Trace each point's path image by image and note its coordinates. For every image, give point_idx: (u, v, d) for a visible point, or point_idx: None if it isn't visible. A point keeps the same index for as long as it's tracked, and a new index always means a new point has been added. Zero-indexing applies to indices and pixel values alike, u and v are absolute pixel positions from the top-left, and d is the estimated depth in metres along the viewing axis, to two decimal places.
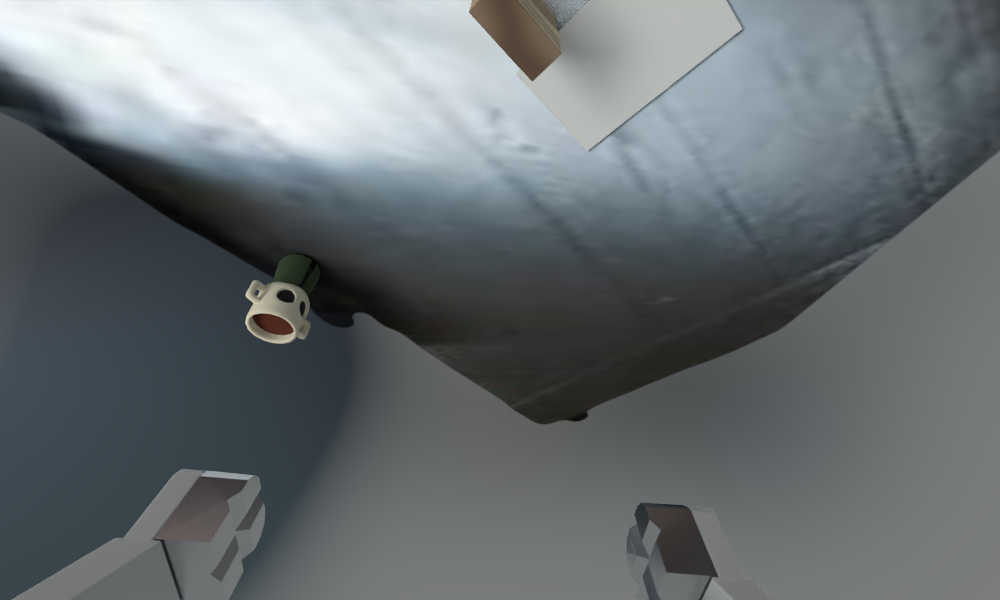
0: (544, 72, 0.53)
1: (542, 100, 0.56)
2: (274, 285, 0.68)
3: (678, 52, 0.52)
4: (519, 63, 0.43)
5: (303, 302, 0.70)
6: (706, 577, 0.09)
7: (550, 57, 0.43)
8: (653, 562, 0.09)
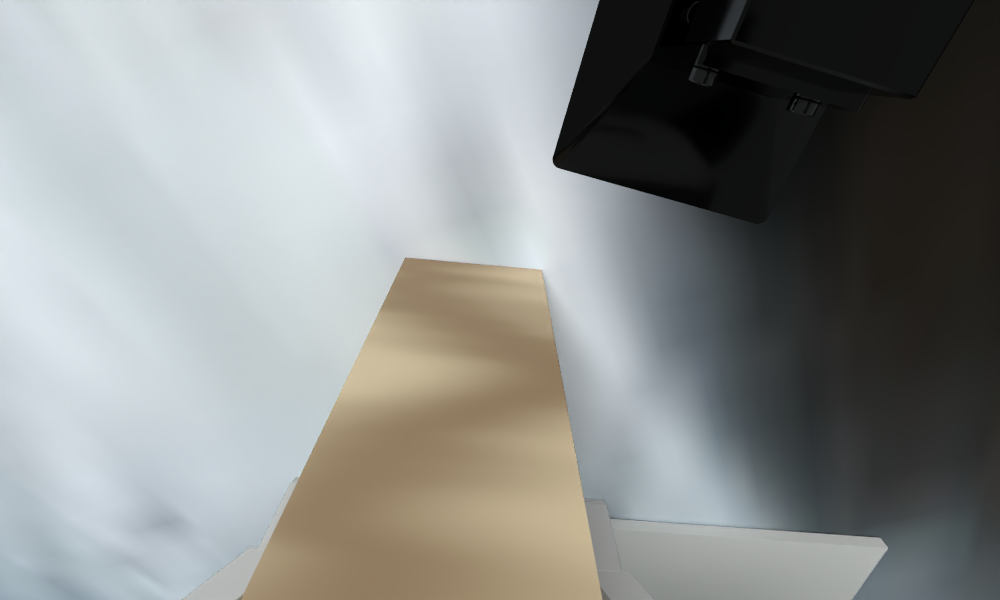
0: None
1: None
2: None
3: None
4: None
5: None
6: None
7: None
8: None
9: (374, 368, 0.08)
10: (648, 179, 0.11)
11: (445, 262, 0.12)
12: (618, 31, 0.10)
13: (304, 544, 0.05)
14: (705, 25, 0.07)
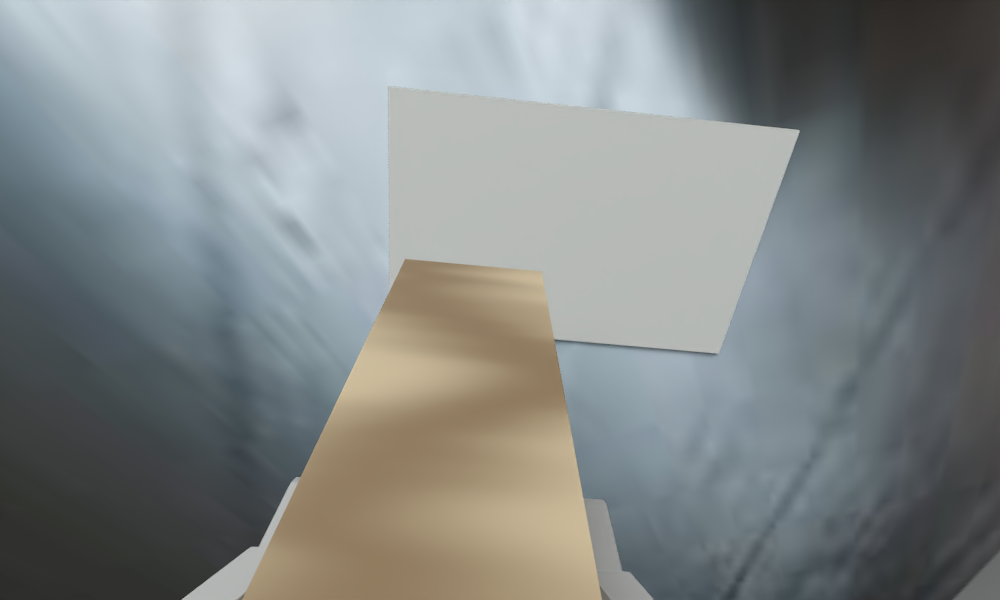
0: (437, 138, 0.24)
1: (392, 178, 0.25)
2: None
3: (632, 308, 0.28)
4: None
5: None
6: None
7: None
8: None
9: (374, 370, 0.08)
10: None
11: (445, 263, 0.12)
12: None
13: (304, 547, 0.05)
14: None
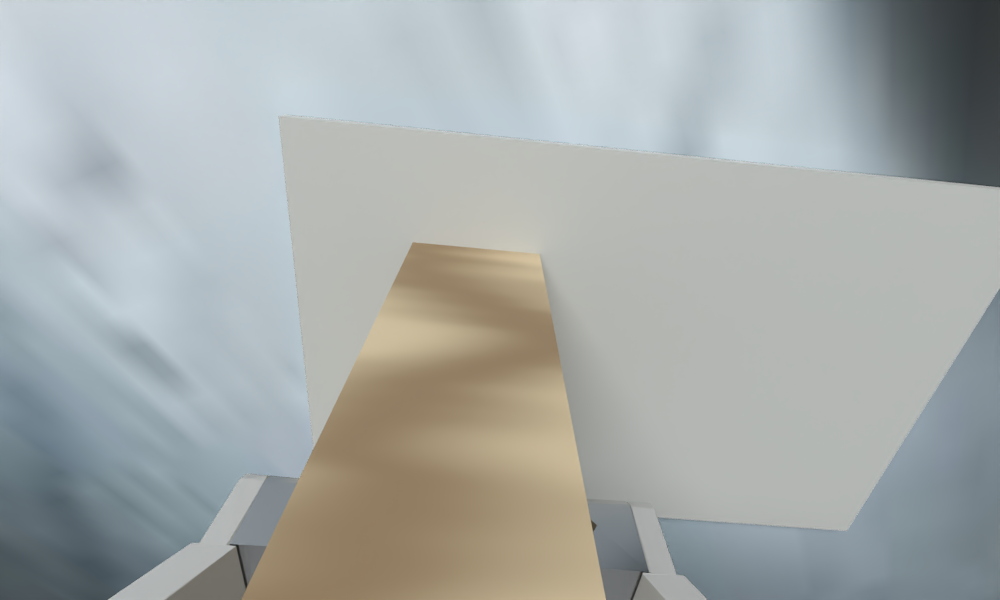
0: (379, 210, 0.13)
1: (302, 278, 0.14)
2: None
3: (715, 471, 0.17)
4: None
5: None
6: (637, 572, 0.09)
7: None
8: None
9: (388, 333, 0.09)
10: None
11: (450, 246, 0.13)
12: None
13: (336, 465, 0.06)
14: None
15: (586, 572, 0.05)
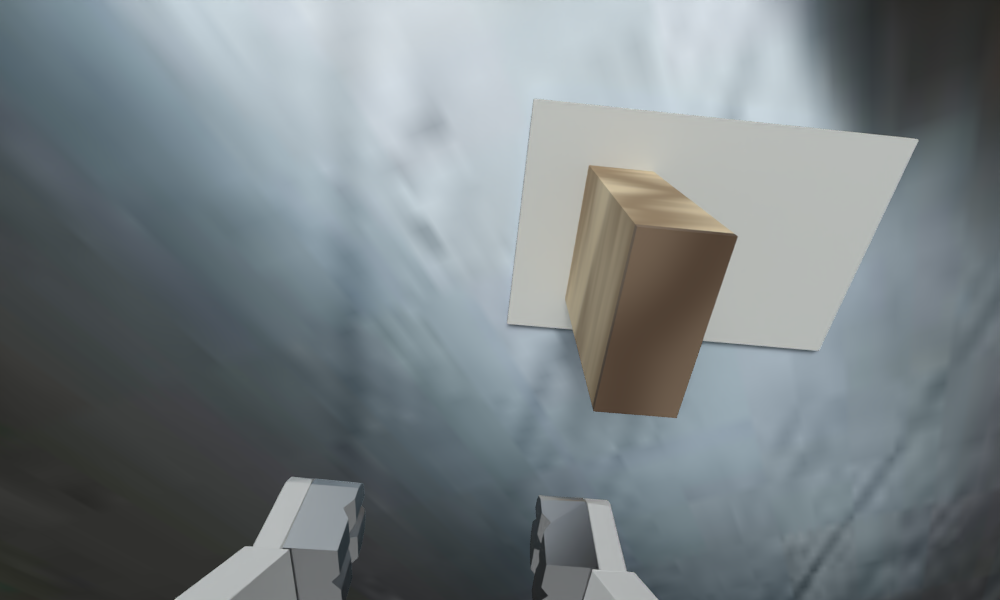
0: (574, 147, 0.25)
1: (527, 185, 0.26)
2: None
3: (741, 308, 0.29)
4: (609, 372, 0.19)
5: None
6: (587, 569, 0.09)
7: (658, 407, 0.20)
8: (541, 555, 0.09)
9: (614, 187, 0.21)
10: None
11: (608, 167, 0.25)
12: None
13: (632, 208, 0.18)
14: None
15: (720, 226, 0.17)
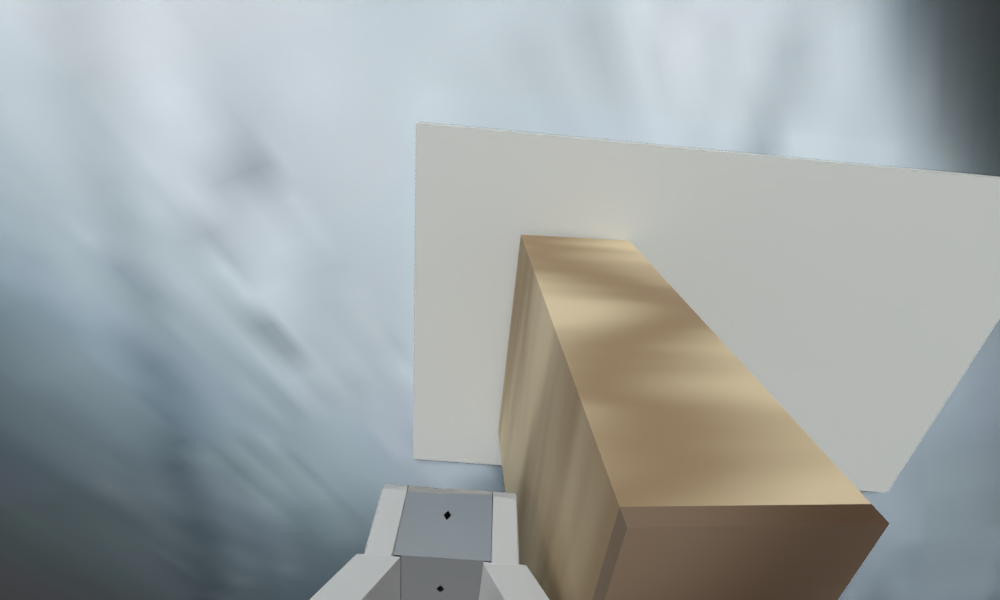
0: (494, 203, 0.15)
1: (420, 263, 0.16)
2: None
3: None
4: None
5: None
6: (479, 562, 0.08)
7: None
8: None
9: (563, 309, 0.11)
10: None
11: (553, 237, 0.15)
12: None
13: (604, 403, 0.08)
14: None
15: (820, 459, 0.07)
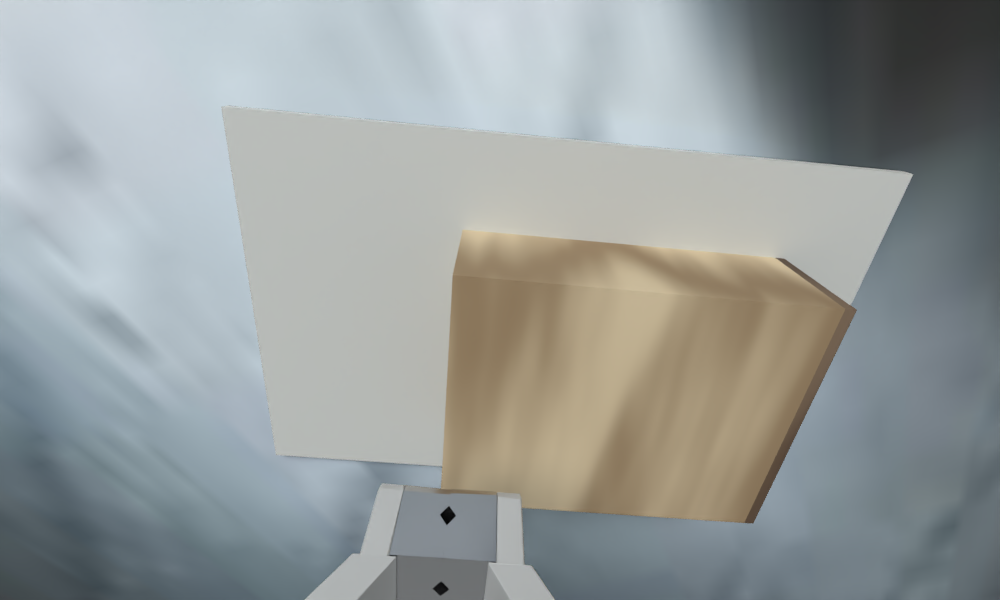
0: (315, 190, 0.14)
1: (250, 252, 0.15)
2: None
3: None
4: None
5: None
6: (485, 562, 0.08)
7: None
8: None
9: (640, 285, 0.12)
10: None
11: (459, 259, 0.13)
12: None
13: (762, 295, 0.12)
14: None
15: (752, 257, 0.15)
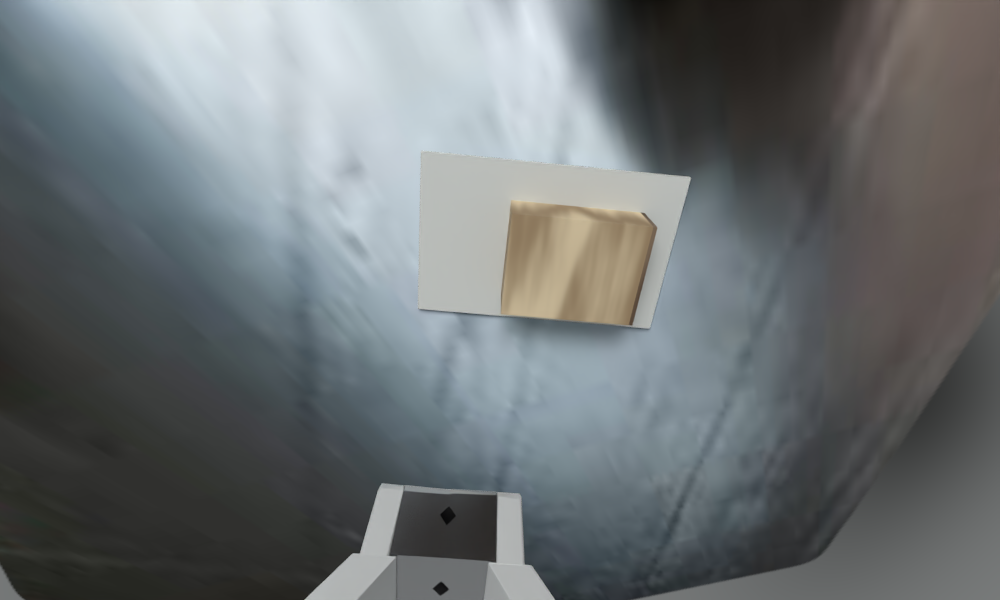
0: (452, 183, 0.36)
1: (422, 209, 0.37)
2: None
3: None
4: None
5: None
6: (485, 562, 0.08)
7: None
8: None
9: (579, 218, 0.34)
10: None
11: (512, 209, 0.34)
12: None
13: (624, 222, 0.34)
14: None
15: (630, 212, 0.37)
